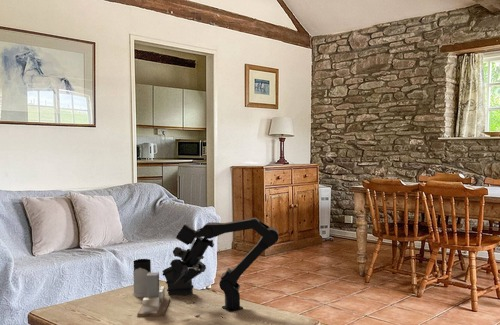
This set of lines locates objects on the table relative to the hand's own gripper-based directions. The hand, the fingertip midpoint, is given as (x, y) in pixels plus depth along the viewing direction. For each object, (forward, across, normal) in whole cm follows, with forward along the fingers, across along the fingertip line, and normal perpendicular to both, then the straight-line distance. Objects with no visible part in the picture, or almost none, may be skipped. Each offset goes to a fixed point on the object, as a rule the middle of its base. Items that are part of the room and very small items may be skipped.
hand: (178, 283), depth 197 cm
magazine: (+11, -18, -7) cm, 22 cm away
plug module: (+12, +4, -2) cm, 13 cm away
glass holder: (+19, -14, -20) cm, 31 cm away
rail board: (+14, +2, -3) cm, 14 cm away
